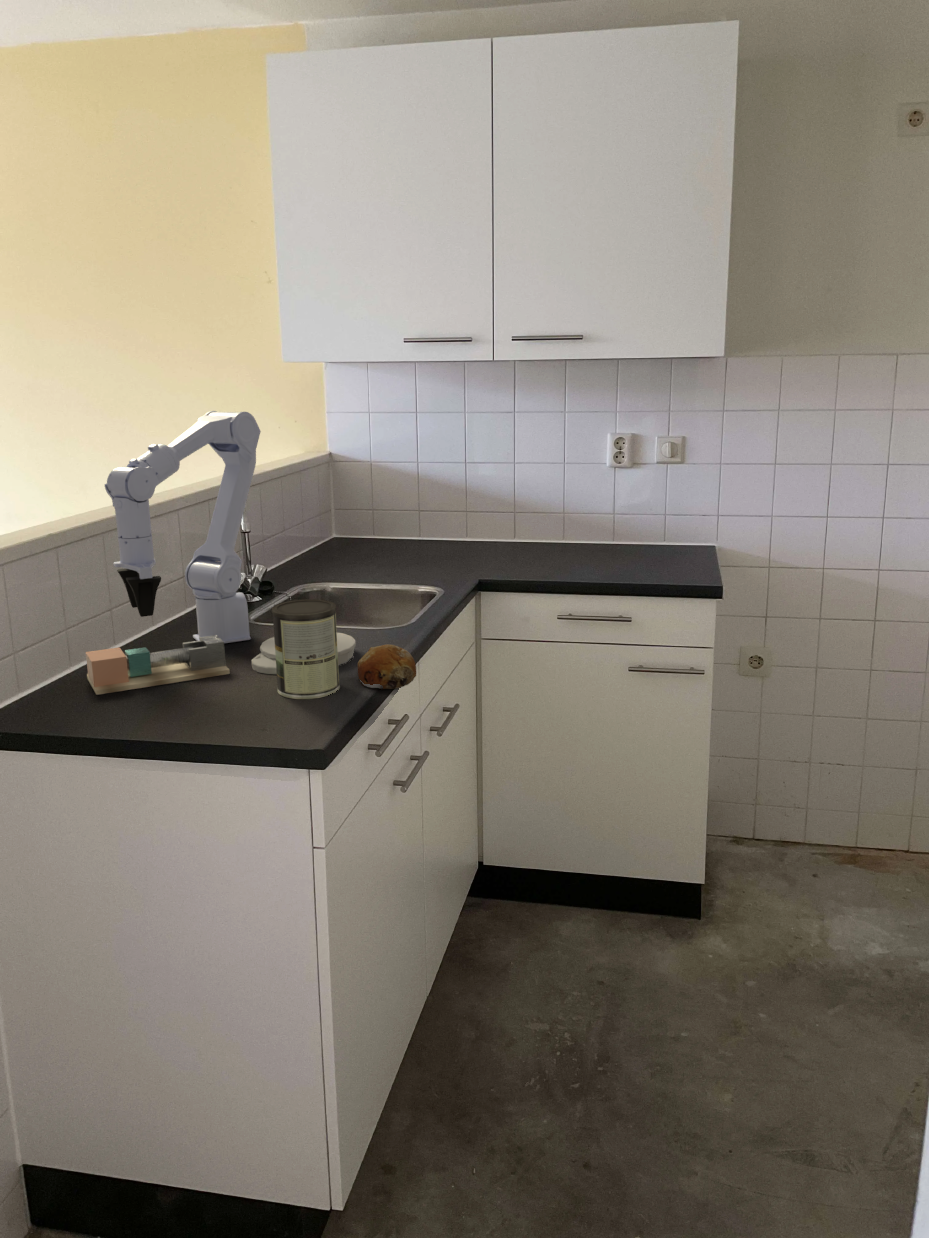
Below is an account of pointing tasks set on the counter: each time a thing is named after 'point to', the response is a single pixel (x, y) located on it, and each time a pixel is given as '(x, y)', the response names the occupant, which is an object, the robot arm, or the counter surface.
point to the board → (161, 677)
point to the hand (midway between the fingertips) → (142, 611)
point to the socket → (107, 667)
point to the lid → (268, 657)
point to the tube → (153, 659)
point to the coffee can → (306, 648)
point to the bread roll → (387, 667)
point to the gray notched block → (205, 653)
